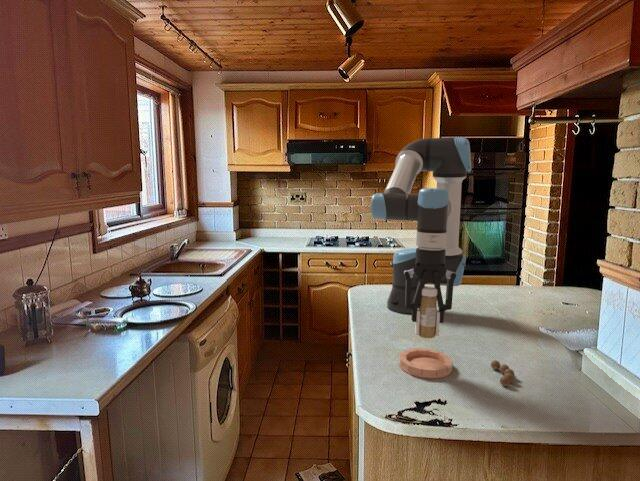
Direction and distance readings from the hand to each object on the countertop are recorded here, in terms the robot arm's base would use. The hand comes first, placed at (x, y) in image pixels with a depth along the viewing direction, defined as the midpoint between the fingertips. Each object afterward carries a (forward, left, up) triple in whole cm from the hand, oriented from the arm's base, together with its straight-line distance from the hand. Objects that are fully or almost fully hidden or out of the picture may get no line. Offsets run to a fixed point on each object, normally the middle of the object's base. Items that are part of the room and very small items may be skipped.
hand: (426, 333), depth 114 cm
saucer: (0, 0, -9) cm, 9 cm away
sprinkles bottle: (0, 0, -1) cm, 1 cm away
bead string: (+4, +19, -9) cm, 22 cm away
